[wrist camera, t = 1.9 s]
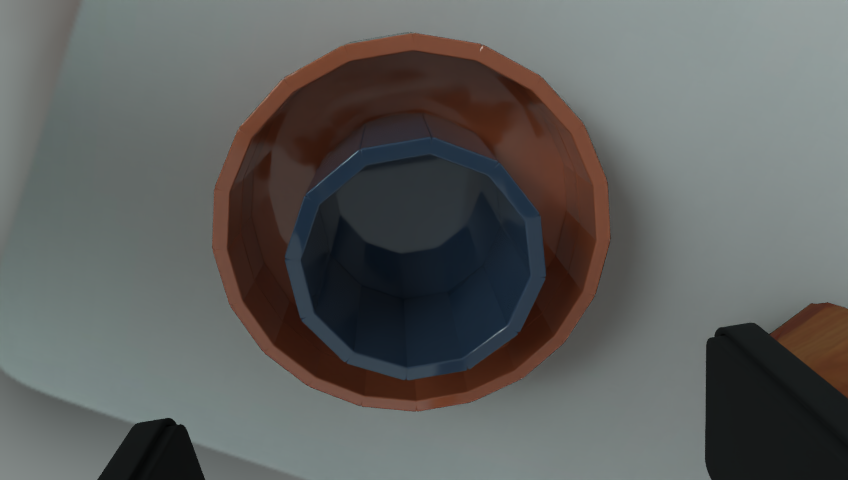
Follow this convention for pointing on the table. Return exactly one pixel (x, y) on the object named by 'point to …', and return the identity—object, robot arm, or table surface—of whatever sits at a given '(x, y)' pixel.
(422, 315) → the small bowl
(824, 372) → the mug
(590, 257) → the big bowl
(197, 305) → the table surface
